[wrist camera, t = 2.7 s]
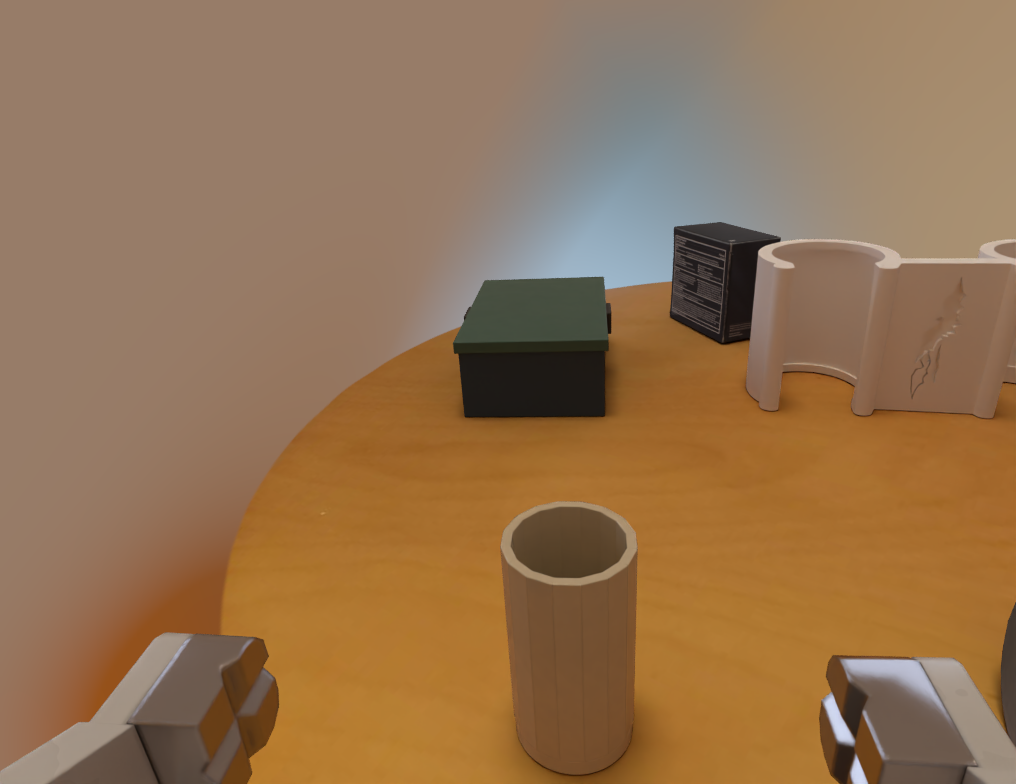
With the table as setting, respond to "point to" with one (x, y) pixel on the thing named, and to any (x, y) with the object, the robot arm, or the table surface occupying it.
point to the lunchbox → (535, 348)
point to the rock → (1009, 677)
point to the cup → (571, 633)
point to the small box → (716, 278)
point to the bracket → (886, 324)
